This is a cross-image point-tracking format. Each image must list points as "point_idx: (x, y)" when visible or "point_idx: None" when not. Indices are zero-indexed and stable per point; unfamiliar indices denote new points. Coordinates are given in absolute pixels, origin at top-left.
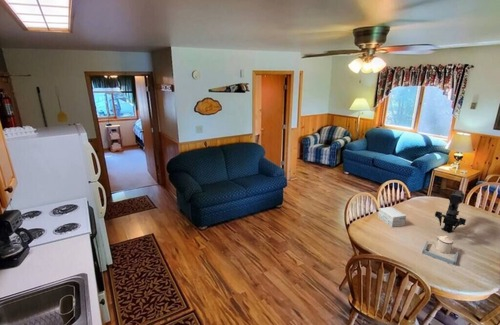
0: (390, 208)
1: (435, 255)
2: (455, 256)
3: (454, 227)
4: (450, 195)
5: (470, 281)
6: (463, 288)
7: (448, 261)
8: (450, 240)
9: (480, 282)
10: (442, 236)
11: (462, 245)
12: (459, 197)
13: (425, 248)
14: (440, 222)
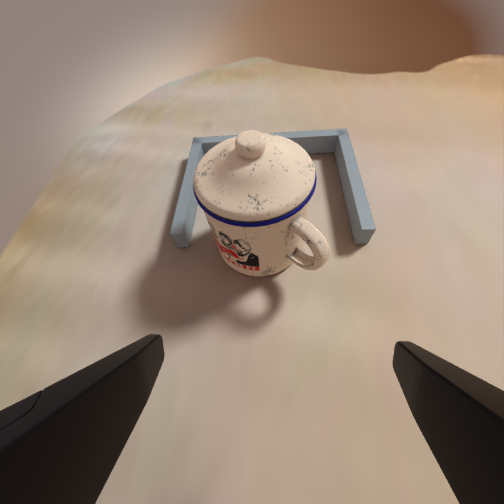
0: None
1: (283, 134)
2: (192, 176)
3: (129, 356)
4: None
5: (156, 111)
6: (182, 80)
7: None
8: (215, 156)
9: (124, 124)
10: (284, 160)
11: None
12: None
13: (343, 149)
14: (472, 383)
